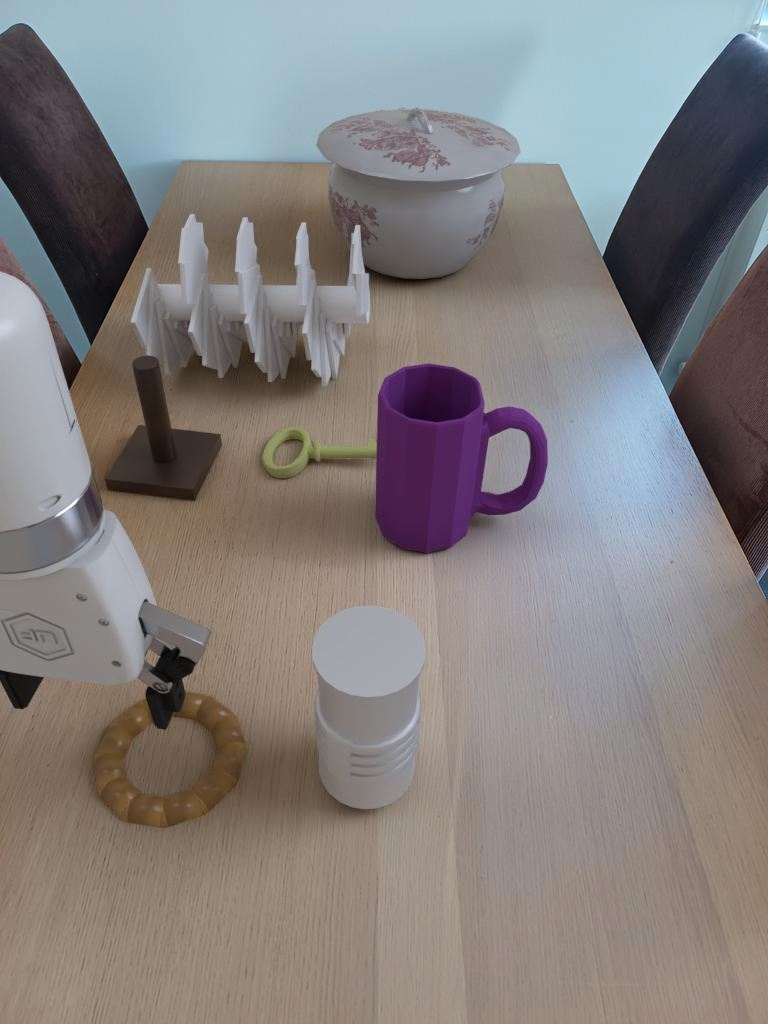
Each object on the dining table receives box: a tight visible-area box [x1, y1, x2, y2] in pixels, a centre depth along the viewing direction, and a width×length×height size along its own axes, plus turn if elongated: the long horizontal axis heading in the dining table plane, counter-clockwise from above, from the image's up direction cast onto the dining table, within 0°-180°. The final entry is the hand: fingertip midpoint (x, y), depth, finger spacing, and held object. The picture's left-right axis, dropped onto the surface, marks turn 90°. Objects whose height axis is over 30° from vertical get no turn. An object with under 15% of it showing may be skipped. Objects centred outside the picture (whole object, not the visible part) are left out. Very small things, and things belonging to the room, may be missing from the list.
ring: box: [92, 690, 247, 829], centre depth 57 cm, size 10×10×2 cm
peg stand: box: [104, 355, 223, 501], centre depth 78 cm, size 9×9×12 cm
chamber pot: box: [316, 107, 522, 280], centre depth 112 cm, size 28×28×21 cm
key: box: [262, 426, 377, 479], centre depth 84 cm, size 7×12×2 cm, turn 102°
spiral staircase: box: [130, 213, 371, 387], centre depth 91 cm, size 18×18×25 cm
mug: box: [374, 362, 549, 554], centre depth 72 cm, size 9×16×15 cm, turn 92°
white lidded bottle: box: [311, 604, 427, 810], centre depth 52 cm, size 7×7×15 cm
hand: (99, 700), depth 54 cm, fingers open, 9 cm apart
